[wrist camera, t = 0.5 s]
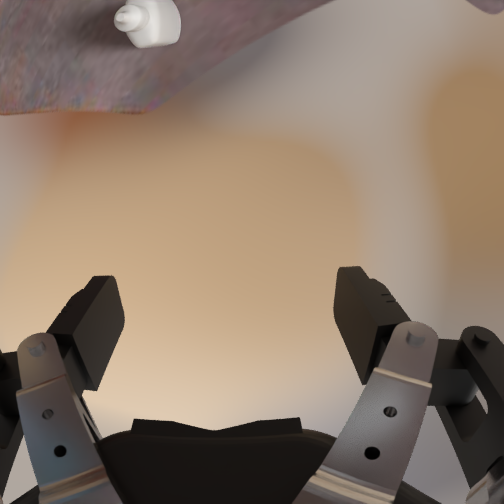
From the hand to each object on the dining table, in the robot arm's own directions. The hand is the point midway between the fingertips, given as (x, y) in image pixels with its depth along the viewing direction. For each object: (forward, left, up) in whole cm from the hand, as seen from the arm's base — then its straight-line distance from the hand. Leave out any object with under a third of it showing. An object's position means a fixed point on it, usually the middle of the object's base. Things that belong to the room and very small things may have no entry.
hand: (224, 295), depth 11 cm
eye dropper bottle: (-14, -3, -28) cm, 31 cm away
